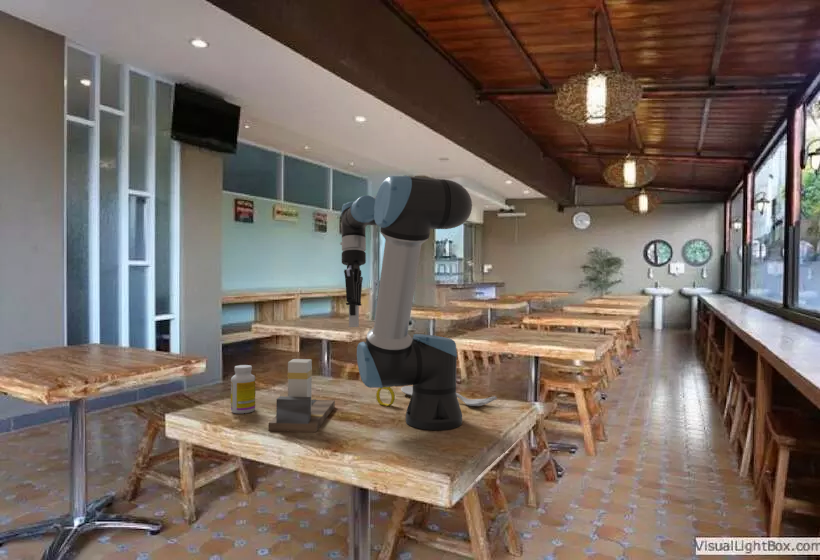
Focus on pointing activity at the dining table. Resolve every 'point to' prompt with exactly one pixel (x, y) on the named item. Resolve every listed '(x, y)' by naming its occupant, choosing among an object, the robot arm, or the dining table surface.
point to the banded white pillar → (299, 378)
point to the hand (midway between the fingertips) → (353, 326)
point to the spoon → (475, 402)
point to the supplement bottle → (243, 390)
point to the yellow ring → (380, 399)
